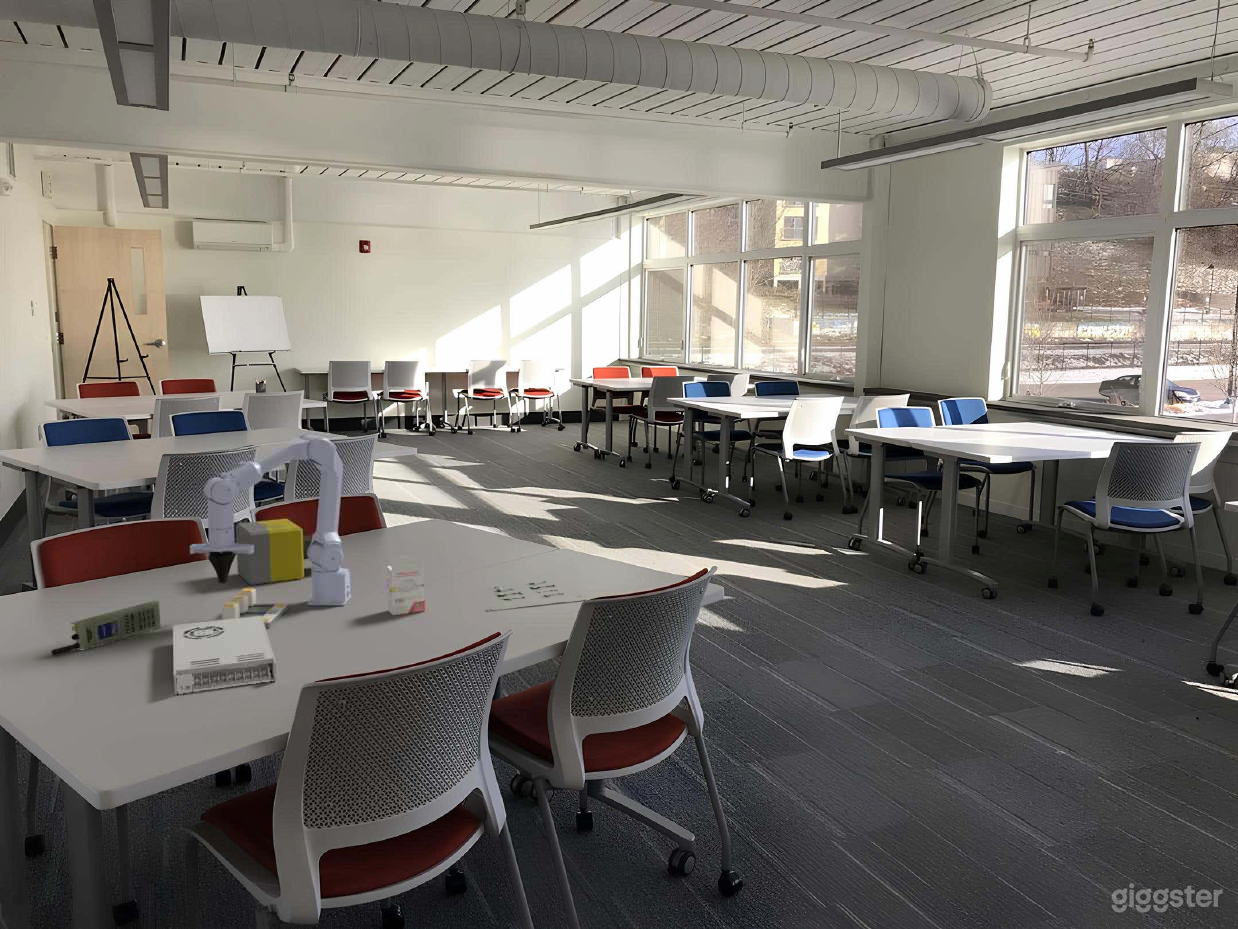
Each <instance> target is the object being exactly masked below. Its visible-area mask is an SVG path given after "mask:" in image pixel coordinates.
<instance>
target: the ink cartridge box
mask: <svg viewBox="0 0 1238 929" xmlns="http://www.w3.org/2000/svg"><path fill="white" fill-rule="evenodd" d="M423 558H424V557H423V555H415V556H414V555H412V556H401V557H392V558H391V559H390V564H391V565H388V566H386V584H387V585H386V587H387V591H386V592H387V610H388V612H389V613H390V614H391V615H392V616H397V615H405V614H412V613H413V614H414V613H422V612H425V611H426V602H425V598H426V596H425V594H426V593H425V569H424V568H425V567H424V560H423ZM407 561H408V562H409V563H403V562H407ZM410 562H411V563H410Z"/></svg>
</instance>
